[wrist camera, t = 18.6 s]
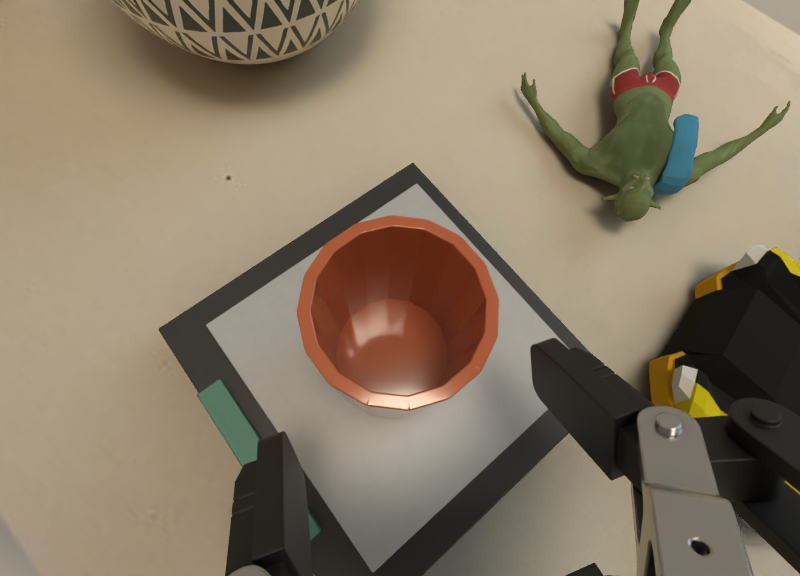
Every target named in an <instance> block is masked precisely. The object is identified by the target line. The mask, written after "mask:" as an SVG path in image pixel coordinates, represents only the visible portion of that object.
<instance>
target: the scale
mask: <svg viewBox="0 0 800 576" xmlns="http://www.w3.org/2000/svg"><path fill="white" fill-rule="evenodd" d="M390 215H391V216H392V215H396V216H404V217H412V218H420V219H427V220H430V221H432V222H434V223H436V224H438V225H440V226H442V227H444V228H446V229H448V230H450V231H452V232H454V233H456V234H458V235H460V237H462V238H463V239H464V240H465V241H466V242H467V243H468V244H469V246H470V247H471V248H472V249H473V250H474V251H475V252H476V253H477V254H478V255H479V256H480V258H481V259H482V260H483V261H484V262H485V264H486V265H487V268H488V270H489V273H490V276H491V278H492V281H493V283H494V286H495V289H496V291H497V294H498V296H499V298H498V299H499V323H498V336H497V340H496V342H495V344H494V346H493V348H492V350H491V352H490V355H489V357H488V359H487V361H486V363H485V365H484V367H483V369H482V371H481V372H480V374H478V375H477V376H476V377H475V378H474V379H473V380H471V381H470V382H469V383H468V384H467V385H466V386H464V387H463V388H462V389H461V390H460V391H459V392H457V393H456V394H455V395H454V396H453V397H452V398H450V399H448V400H446V401H444V402H441V403H439V404H437V405H435V406H433V407H431V408H428V409H426V410H424V411H422V412H419V413H415V414H412V415H410V416H406V417H402V418H399V419H398V418H397V419H394V418H383V417H377V416H372V415H369V414H367V413H366V412H364V411H362V410H360V409H358V408H357V407H355V406H354V405H352V404H350V403H349V402H348V401H347V400H345V399H344V398H343V397H342V396H341V395H340V394H339V393H338V392H337V391H336V390H335V389H334V388H333V387H332V386H331V385H330V384H328V382H327V381H326V380H325V378H324V377H323V375H322V374H321V373H320V371H319V370H318V369H317V367H316V366H315V365H314V363H313V362H312V360H311V359H310V358H309V356H308V355H307V354H306V351H305V350H304V345H303V340H302V336H301V331H300V327H299V322H298V318H297V307H298V302H299V297H300V292H301V287H302V282H303V277H304V275H305V273H306V271H307V270H308V268H309V267H310V265H311V264H312V263H313V261H314V260H315V258H316V257H317V255H318V254H319V252H320V251H321V249H322V248H323V246H324V245H326V243H327V242H329V241H330V240H332V239H333V238H335V237H336V236H338V235H339V234H341V233H342V232H344V231H345V230H347V229H348V228H350V227H351V226H353V225H354V224H357V223H360V222H364V221H368V220H372V219H377V218H381V217H385V216H390ZM159 331H160V333H161V334H162V336H163V338H164V339H165V341H166V342H167V344H168V345H169V347H170V349H171V350H172V352H173V353H174V355H175V356H176V358H177V360H178V361H179V363H180V364H181V366H182V367H183V369H184V371H185V372H186V374H187V375H188V377H189V378H190V380H191V382H192V383H193V385H194V386H195V388H196V389H197V391H198V393H199V394H198V395H197V396H198V398H199V399H200V401H201V403H202V404H203V406H204V407H205V409H206V410H207V412H208V414H209V415H210V417H211V418H212V420H213V421H214V423H215V425H216V426H217V428H218V429H219V431H220V432H221V434H222V436H223V437H224V439H225V440H226V442H227V443H228V445H229V447H230V448H231V450H232V451H233V453H234V455H235V456H236V458H237V459H238V461H239V462H240V464H241V466H242V467H243V466H244V464H247V463H249V462H252V461H255V460H257V444H258V440H259V439H262V438H265V437H268V436H271V435H274V434H276V433H279V432H282V431H285V433H286V434H287V436H288V438H289V441H290V443H291V445H292V447H293V449H294V451H295V454H296V456H297V458H298V460H299V462H300V465H301V467H302V470H303V474H304V478H305V483H306V492H307V505H308V518H309V531H310V543H311V556H312V569H313V573H314V575H315V576H422V575H423V574H424V573H425V572H426V571H427V570H428V569H429V568H430V567H431V566H432V565H433V564H434V563H435V562H436V561H438V560H439V559H440V558H441V557H442V556H443V555H444V554H445V553H446V552H447V551H448V550H449V549H450V548H451V547H452V546H453V545H454V544H455V543H456V542H457V541H458V540H459V539H460V538H461V537H462V536H463V535H464V534H465V533H466V532H467V531H468V530H469V529H470V528H471V527H472V526H474V525H475V524H476V523H477V522H478V521H479V520H480V519H481V518H482V517H483V516H484V515H485V514H486V513H487V512H488V511H489V510H490V509H491V508H492V507H493V506H494V505H495V504H496V503H497V502H498V501H499V500H500V499H501V498H502V497H503V496H504V495H505V494H506V493H507V492H508V491H509V490H511V489H512V488H513V487H514V486H515V485H516V484H517V483H518V482H519V481H520V480H521V479H522V478H523V477H524V476H525V475H526V474H527V473H528V472H529V471H530V470H531V469H532V468H533V467H534V466H535V465H536V464H537V463H538V462H539V461H540V460H541V459H542V458H543V457H544V456H545V455H547V454H548V453H549V452H550V451H551V450H552V449H553V448H554V447H555V446H556V445H557V444H558V443H559V442H560V441H561V440H562V439H563V438H564V437H565V436H566V435H567V434H568V433H569V432H568V431H567V430H566V429H565V427H564V426H563V425H562V424H561V423H560V422H559V421H558V419H557V418H556V417H555V416H554V415H553V414H552V413H551V412H550V410H549V409H548V408H547V407H546V406H545V405H544V404H543V402H542V401H541V400H540V399H539V397H538V396H537V394H536V392H535V389H534V387H533V383H532V370H531V354H530V348H531V346H532V345H533V344H536V343H539V342H542V341H545V340H547V339H550V338H556V339H558V340H559V341H560V342H561V343H562V344H564V345H565V346H566V347H567V348H568V349H571V348H574V347H576V348H578V349H581V350H583V351H586V352H588V353H590V352H589V351H588V350H587V349H586V348H585V347H584V346H583V345H582V344H581V343H580V341H579V340H578V339H577V338H576V337H575V336H574V335H573V334H572V333H571V332H570V331H569V330H568V329H567V328H566V326H565V325H564V324H563V323H562V322H561V321H560V320H559V319H558V318H557V317H556V316H555V315H554V314H553V313H552V311H551V310H550V309H549V308H548V307H547V306H546V305H545V304H544V303H543V302H542V301H541V300H540V299H539V297H538V296H537V295H536V294H535V293H534V292H533V291H532V290H531V289H530V288H529V287H528V286H527V285H526V284H525V282H524V281H523V280H522V279H521V278H520V277H519V276H518V275H517V274H516V273H515V272H514V271H513V270H512V269H511V267H510V266H509V265H508V264H507V263H506V262H505V261H504V260H503V259H502V258H501V257H500V256H499V255H498V253H497V252H496V251H495V250H494V249H493V248H492V247H491V246H490V245H489V244H488V243H487V242H486V241H485V240H484V238H483V237H482V236H481V235H480V234H479V233H478V232H477V231H476V230H475V229H474V228H473V227H472V226H471V224H470V223H469V222H468V221H467V220H466V219H465V218H464V217H463V216H462V215H461V214H460V213H459V212H458V211H457V209H456V208H455V207H454V206H453V205H452V204H451V203H450V202H449V201H448V200H447V199H446V198H445V197H444V196H443V194H442V193H441V192H440V191H439V190H438V189H437V188H436V187H435V186H434V185H433V184H432V183H431V182H430V180H429V179H428V178H427V177H426V176H425V175H424V174H423V173H422V172H421V171H420V170H419V169H418V168H417V167H416V165H415V164H414V163H411V164H410V165H408V166H407V167H405V168H404V169H402V170H401V171H399V172H398V173H396V174H395V175H393V176H392V177H390V178H389V179H387V180H385V181H384V182H382V183H381V184H379V185H378V186H376V187H375V188H373V189H372V190H370V191H369V192H367V193H366V194H364V195H363V196H361V197H359V198H358V199H356V200H355V201H353V202H352V203H350V204H349V205H347V206H346V207H344V208H343V209H341V210H340V211H338V212H337V213H335V214H333V215H332V216H330V217H329V218H327V219H326V220H324V221H323V222H321V223H320V224H318V225H317V226H315V227H314V228H312V229H310V230H309V231H307V232H306V233H304V234H303V235H301V236H300V237H298V238H297V239H295V240H294V241H292V242H291V243H289V244H288V245H286V246H284V247H283V248H281V249H280V250H278V251H277V252H275V253H274V254H272V255H271V256H269V257H268V258H266V259H265V260H263V261H262V262H260V263H258V264H257V265H255V266H254V267H252V268H251V269H249V270H248V271H246V272H245V273H243V274H242V275H240V276H239V277H237V278H236V279H234V280H232V281H231V282H229V283H228V284H226V285H225V286H223V287H222V288H220V289H219V290H217V291H216V292H214V293H213V294H211V295H210V296H208V297H206V298H205V299H203V300H202V301H200V302H199V303H197V304H196V305H194V306H193V307H191V308H190V309H188V310H187V311H185V312H184V313H182V314H180V315H179V316H177V317H176V318H174V319H173V320H171V321H170V322H168V323H167V324H165V325H164V326H162V327H161V328H159Z"/></svg>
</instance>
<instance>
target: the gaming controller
mask: <svg viewBox="0 0 800 576" xmlns="http://www.w3.org/2000/svg"><path fill="white" fill-rule="evenodd" d="M695 297H696V299H695V300H694V302H693V303H692V305H691V307H690V308H689V310H688V312H687V313H686V315H685V317H684V318H683V320H682V322H681V324H680V325H679V327H678V329H677V330H676V332H675V334H674V335H673V337H672V339H671V340H670V342H669V344H668V345H667V347H666V349H665V351H664V352H663V354H662V356H661V357H660V358H657V359H654V360H652V361H650V366H649V377H650V388H651V399H652V403H653V404H654V405H656V406H668V407H673V408H676V409H679V410H681V411H683V412H685V413H687V414H688V415H690V416H691V417H692V418H699V417H711V416H724V415H728V412H729V408H730V405H731V404H732V403H733V402H734V401H736V400H738V399H742V398H759V399H764V400H768V401H772V402H774V403H777V404H779V405H782V406H784V407H785V408H787V409H789V410H790V411H792V412H793V413H795V414H796V415H798V416H800V262H798V261H793V260H791V259H790V257H789V256H788V255H787V254H786V253H785V252H783V251H781V250H780V249H778V248H777V247H775V248H770V247H767V246H764V245H761V244H755V245H754V246H753V247H752V248H751V249H750V250H749V251H748V252H747V253H746V254H745V255H744V256H743V257H742V259H741V260H740V261H738V262H736V263H734V264H732V265H730V266H728V267H726V268H724V269H723V270H721V271H719V272H717V273H715V274H713V275H712V276H710V277H708V278H706V279H704V280H703V281H701V282H700V283H699V284H698V285H696V286H695ZM785 483H786V484H788V485H789V486H790V487H791V488H793V489H794V490H795V491H796V492H797V493H799V494H800V492H799V491H797V490H796V489H795V488H794V487H792V486H791V485H790V484H789V483H788V482H786V481H785Z"/></svg>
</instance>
